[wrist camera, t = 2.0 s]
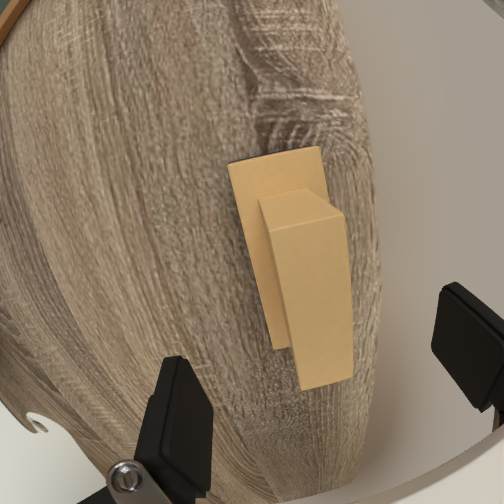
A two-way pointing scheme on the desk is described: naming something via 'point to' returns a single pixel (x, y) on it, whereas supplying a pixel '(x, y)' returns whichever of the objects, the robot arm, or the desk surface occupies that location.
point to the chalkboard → (9, 15)
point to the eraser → (298, 260)
